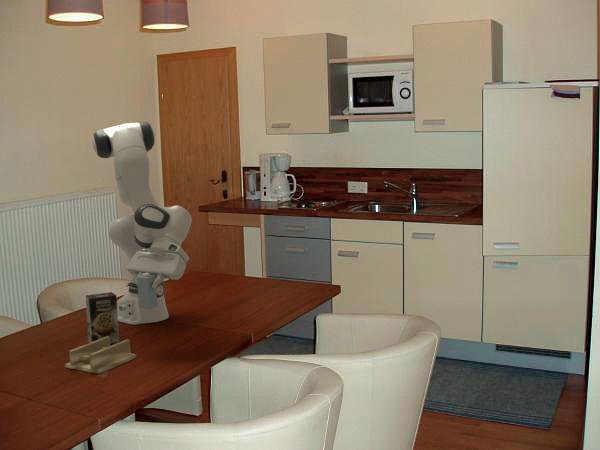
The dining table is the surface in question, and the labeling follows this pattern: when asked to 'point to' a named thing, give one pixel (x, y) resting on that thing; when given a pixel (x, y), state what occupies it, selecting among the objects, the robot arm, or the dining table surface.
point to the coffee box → (102, 317)
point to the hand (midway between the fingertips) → (145, 287)
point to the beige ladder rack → (100, 355)
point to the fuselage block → (146, 291)
